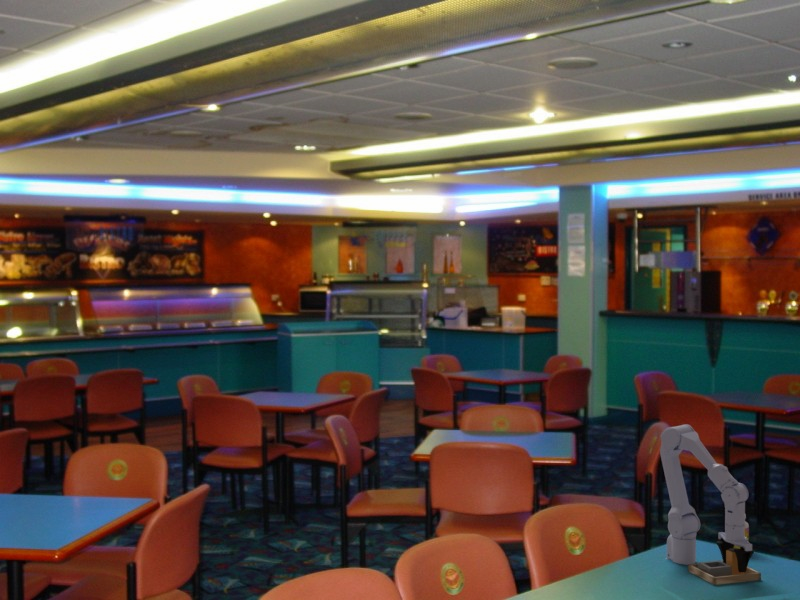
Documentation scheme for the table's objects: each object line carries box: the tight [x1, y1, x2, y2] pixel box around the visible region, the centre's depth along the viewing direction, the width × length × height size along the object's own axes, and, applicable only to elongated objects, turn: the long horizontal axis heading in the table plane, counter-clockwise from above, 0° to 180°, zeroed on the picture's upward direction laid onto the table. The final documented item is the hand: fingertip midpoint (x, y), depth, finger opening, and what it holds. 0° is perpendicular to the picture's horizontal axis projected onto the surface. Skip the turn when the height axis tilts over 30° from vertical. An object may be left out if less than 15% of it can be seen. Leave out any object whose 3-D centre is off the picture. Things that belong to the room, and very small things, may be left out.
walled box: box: [687, 560, 762, 586], centre depth 305 cm, size 14×16×3 cm
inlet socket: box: [697, 560, 732, 577], centre depth 304 cm, size 6×7×4 cm
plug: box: [726, 548, 743, 575], centre depth 306 cm, size 3×4×8 cm
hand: (734, 568), depth 306 cm, fingers open, 7 cm apart
